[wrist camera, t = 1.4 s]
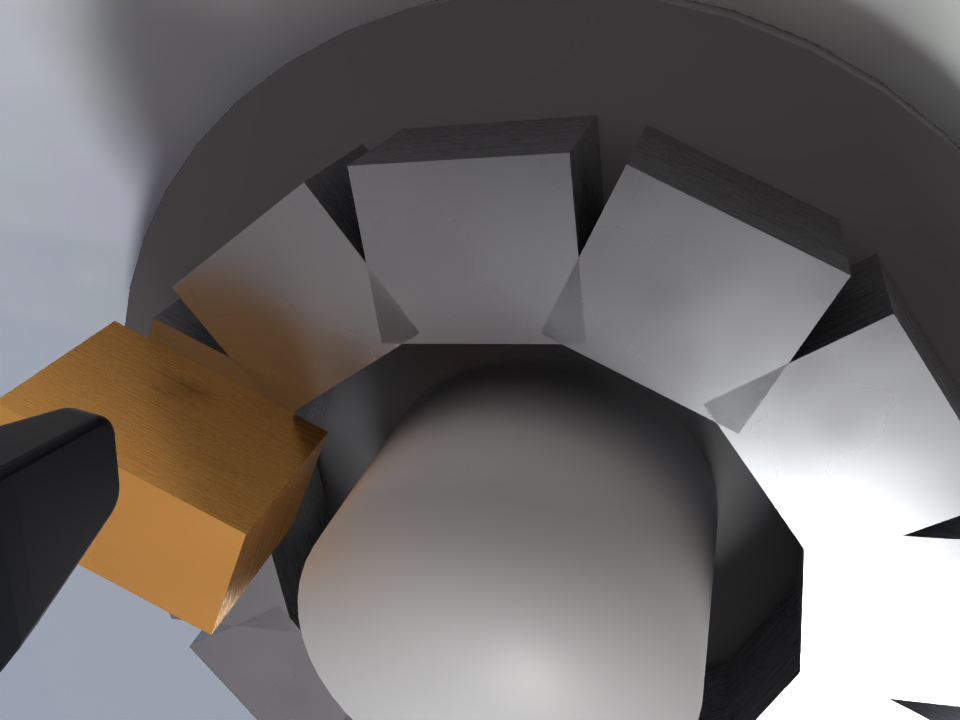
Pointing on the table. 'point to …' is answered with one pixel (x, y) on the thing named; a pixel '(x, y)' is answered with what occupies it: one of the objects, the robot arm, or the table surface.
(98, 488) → the robot arm
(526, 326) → the grey toothed bowl
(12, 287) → the table surface
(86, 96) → the table surface
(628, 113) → the cap base
